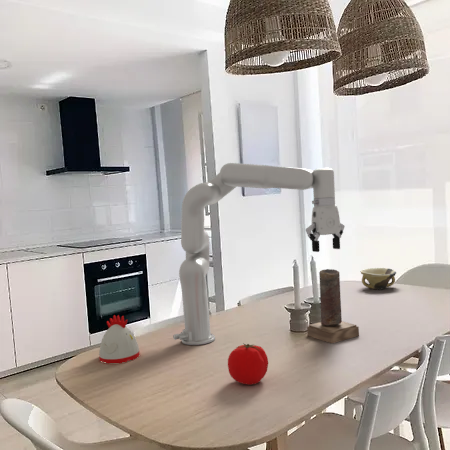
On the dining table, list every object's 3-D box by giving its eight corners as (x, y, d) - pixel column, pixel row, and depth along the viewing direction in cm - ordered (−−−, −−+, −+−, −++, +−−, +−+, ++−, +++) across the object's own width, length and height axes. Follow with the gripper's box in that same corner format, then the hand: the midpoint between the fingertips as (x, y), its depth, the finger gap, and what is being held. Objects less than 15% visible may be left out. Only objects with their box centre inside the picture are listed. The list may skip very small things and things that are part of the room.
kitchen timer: (126, 365, 164) (122, 320, 163) (91, 363, 169) (87, 320, 168) (146, 351, 177) (143, 310, 176) (114, 350, 182) (110, 310, 181)
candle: (341, 321, 182) (337, 268, 181) (343, 327, 175) (340, 271, 174) (320, 322, 183) (317, 269, 182) (322, 328, 176) (318, 272, 175)
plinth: (331, 343, 170) (330, 332, 170) (307, 335, 182) (306, 324, 182) (359, 335, 177) (358, 324, 177) (334, 328, 188) (333, 318, 188)
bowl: (363, 292, 248) (362, 273, 247) (359, 285, 265) (358, 268, 265) (399, 291, 245) (398, 272, 244) (393, 284, 262) (392, 266, 262)
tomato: (239, 392, 134) (236, 352, 133) (222, 379, 144) (220, 342, 144) (277, 383, 139) (274, 344, 138) (258, 371, 149) (256, 335, 148)
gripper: (312, 204, 169) (314, 253, 170) (349, 201, 177) (351, 248, 178) (298, 204, 175) (300, 251, 176) (335, 201, 184) (337, 247, 185)
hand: (326, 250), depth 177 cm, fingers open, 9 cm apart
